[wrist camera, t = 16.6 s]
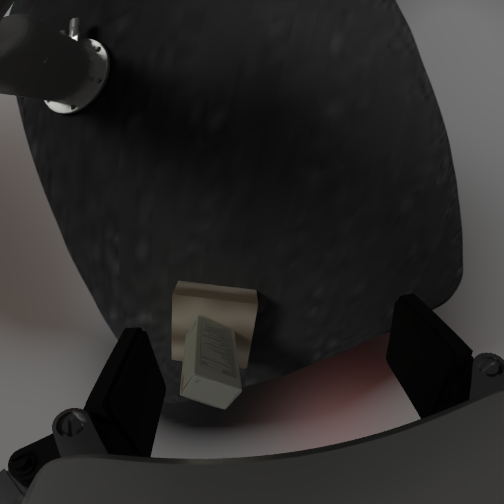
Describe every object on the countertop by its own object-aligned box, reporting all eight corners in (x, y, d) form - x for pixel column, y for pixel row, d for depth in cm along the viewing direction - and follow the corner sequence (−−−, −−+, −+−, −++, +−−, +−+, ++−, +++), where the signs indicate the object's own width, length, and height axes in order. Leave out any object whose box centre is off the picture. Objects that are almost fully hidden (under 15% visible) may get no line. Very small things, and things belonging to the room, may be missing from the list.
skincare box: (185, 335, 42) (176, 394, 30) (197, 313, 41) (191, 372, 29) (223, 351, 43) (225, 411, 32) (237, 331, 42) (243, 391, 31)
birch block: (178, 279, 45) (172, 294, 40) (256, 288, 46) (258, 304, 41) (176, 341, 48) (171, 359, 44) (245, 349, 49) (246, 368, 45)
